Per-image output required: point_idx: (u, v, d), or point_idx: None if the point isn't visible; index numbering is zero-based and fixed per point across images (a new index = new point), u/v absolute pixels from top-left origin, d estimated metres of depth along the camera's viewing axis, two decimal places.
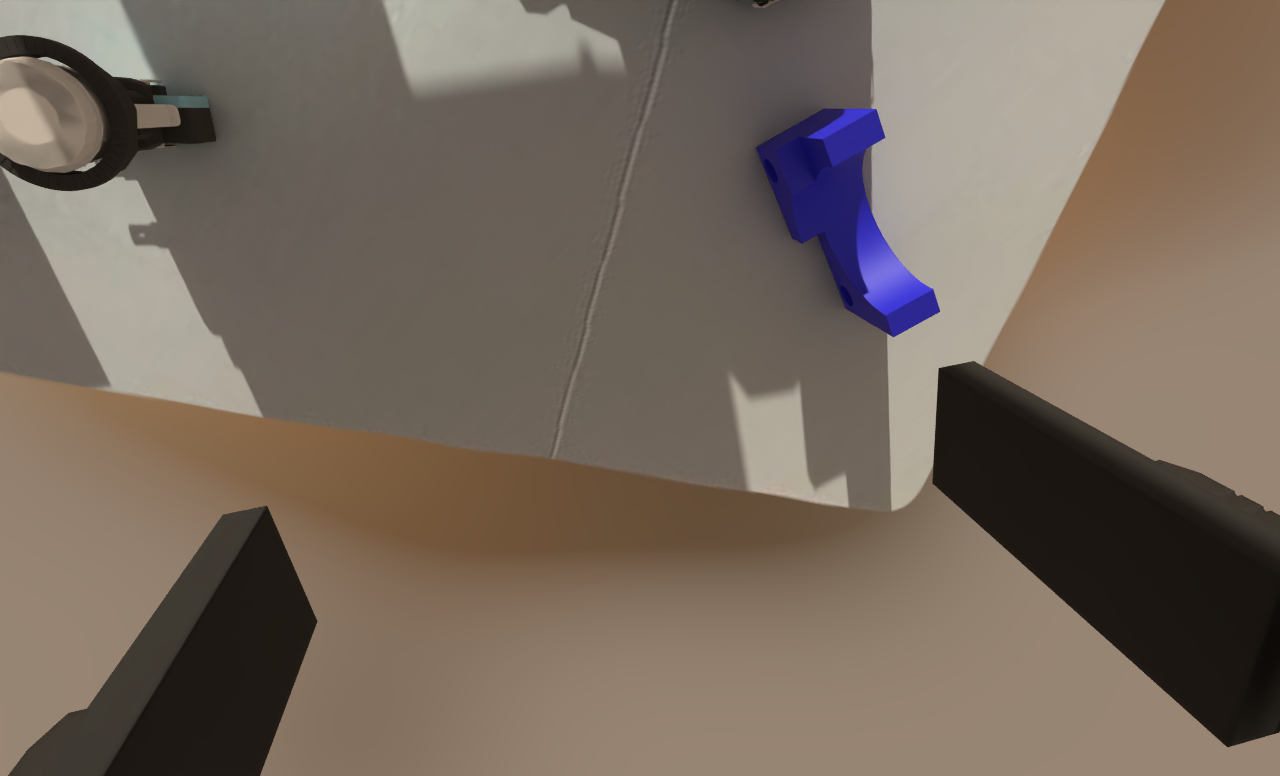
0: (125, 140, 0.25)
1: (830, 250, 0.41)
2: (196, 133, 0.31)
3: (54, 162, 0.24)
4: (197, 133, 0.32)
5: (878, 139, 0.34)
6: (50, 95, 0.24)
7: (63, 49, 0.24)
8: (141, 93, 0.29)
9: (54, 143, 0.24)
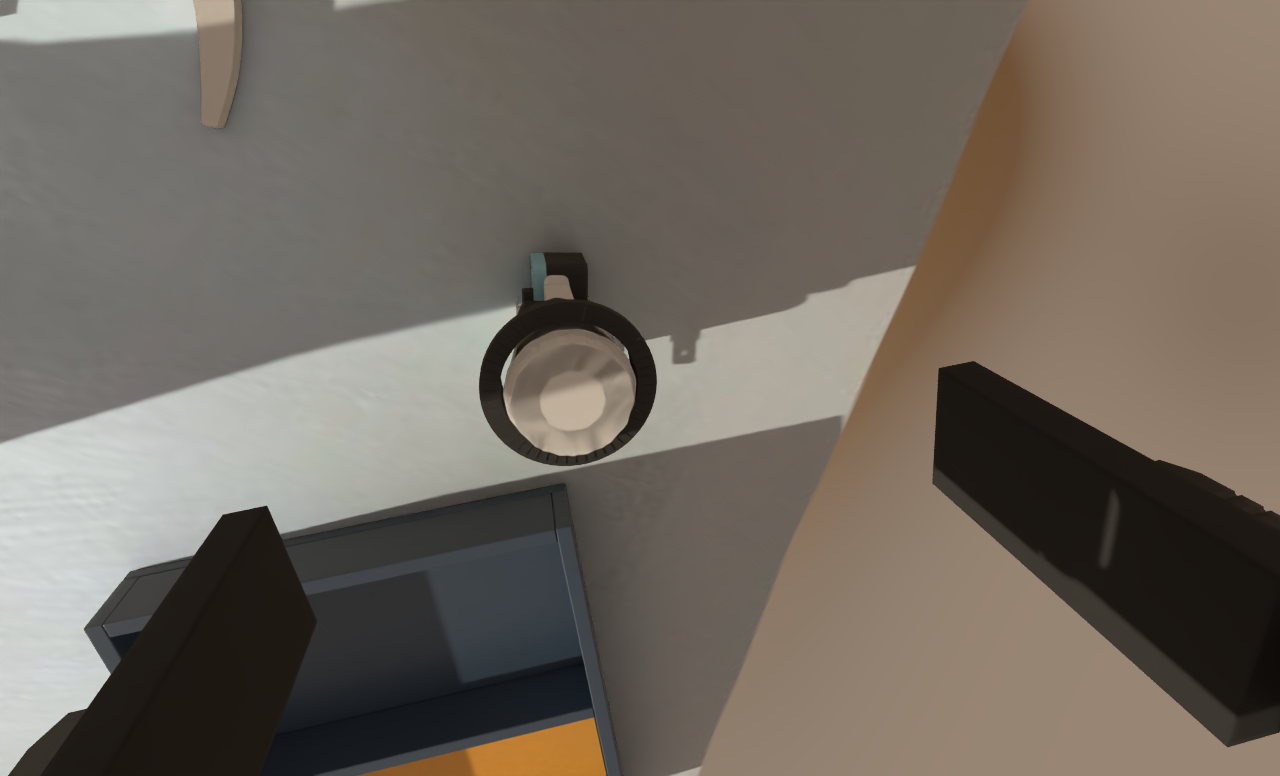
0: (597, 309, 0.19)
1: None
2: (575, 263, 0.25)
3: (626, 386, 0.19)
4: (575, 263, 0.25)
5: None
6: (547, 373, 0.19)
7: (491, 353, 0.19)
8: None
9: (603, 382, 0.19)
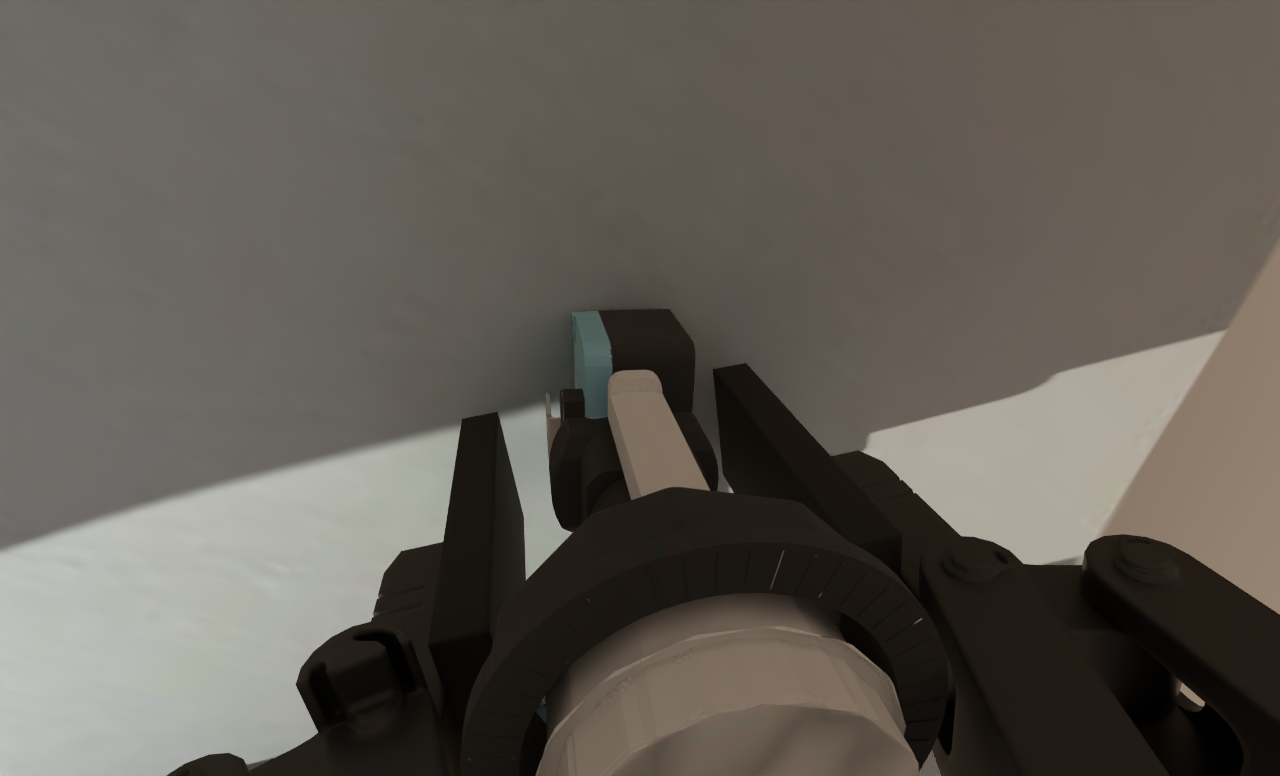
0: (814, 556, 0.06)
1: None
2: (670, 341, 0.12)
3: None
4: (668, 339, 0.13)
5: None
6: None
7: (495, 694, 0.06)
8: (585, 442, 0.12)
9: None
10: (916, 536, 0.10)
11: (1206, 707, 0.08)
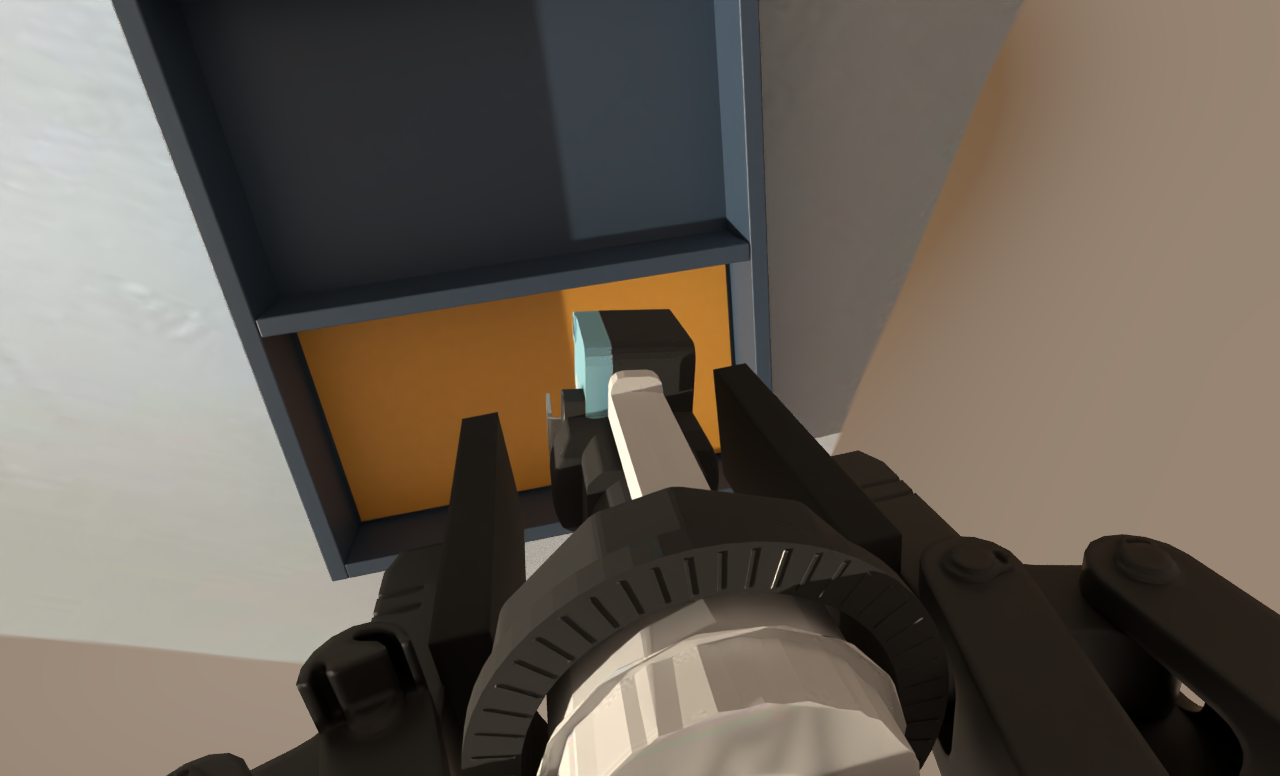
0: (815, 556, 0.06)
1: None
2: (671, 341, 0.12)
3: None
4: (668, 339, 0.13)
5: None
6: None
7: (496, 693, 0.06)
8: (586, 441, 0.12)
9: None
10: (916, 536, 0.10)
11: (1206, 707, 0.08)
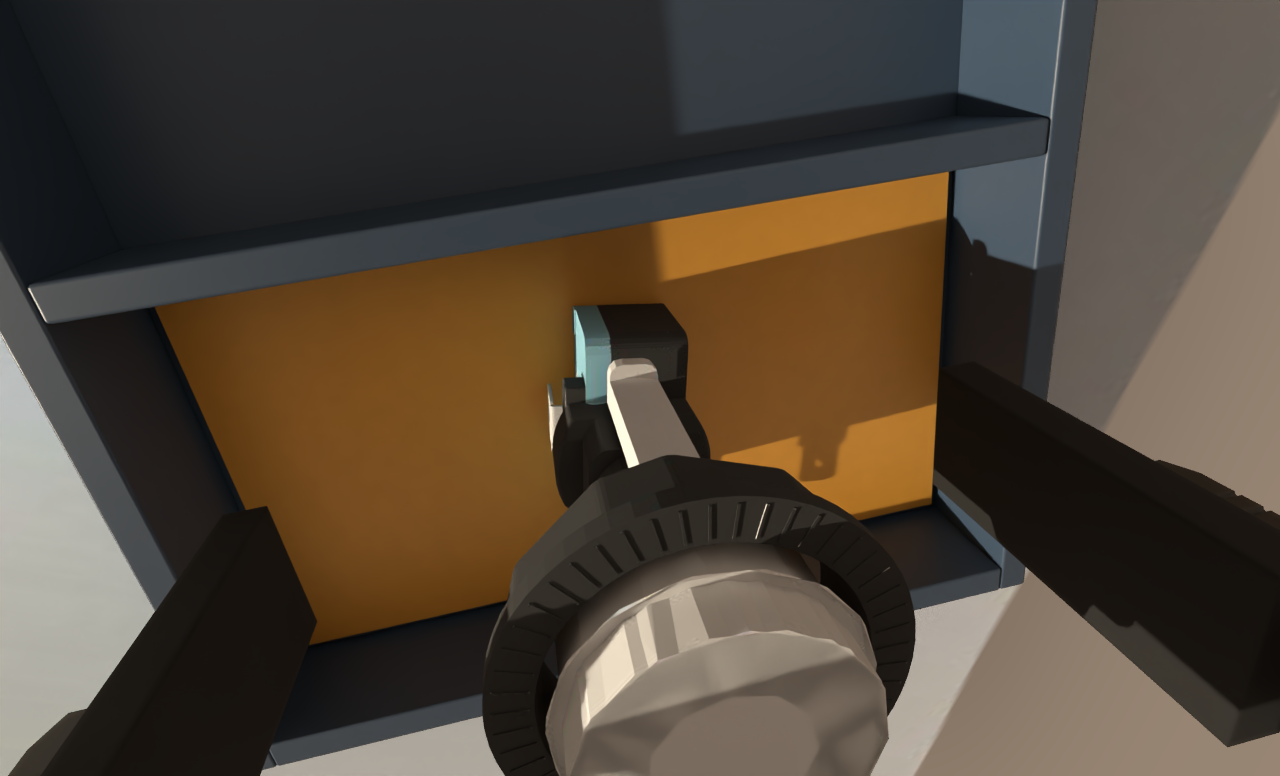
0: (794, 510, 0.07)
1: None
2: (665, 332, 0.13)
3: (874, 715, 0.07)
4: (663, 330, 0.13)
5: None
6: (672, 709, 0.07)
7: (513, 632, 0.07)
8: (587, 425, 0.13)
9: (819, 711, 0.07)
10: None
11: None
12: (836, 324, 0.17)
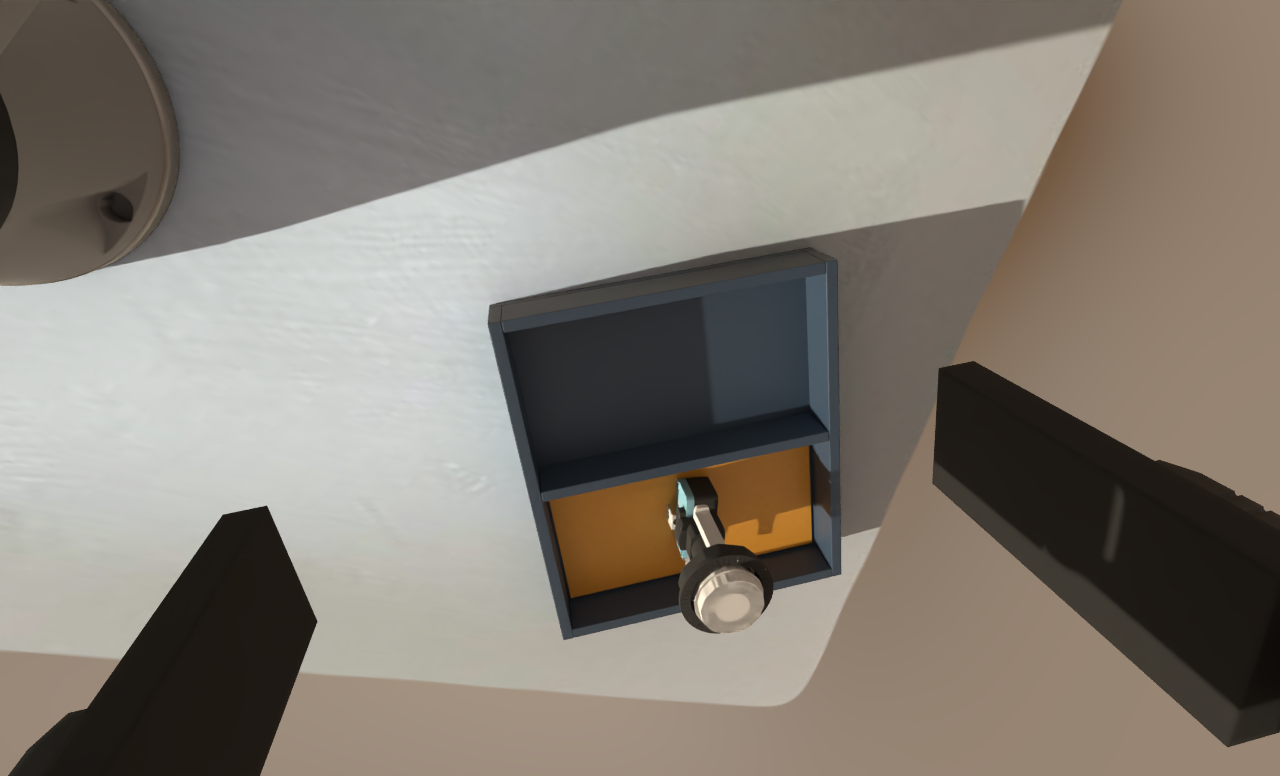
0: (744, 557, 0.36)
1: None
2: (710, 494, 0.42)
3: (760, 598, 0.36)
4: (710, 493, 0.42)
5: None
6: (721, 595, 0.35)
7: (688, 582, 0.36)
8: (687, 525, 0.41)
9: (749, 597, 0.36)
10: None
11: None
12: (770, 479, 0.45)
